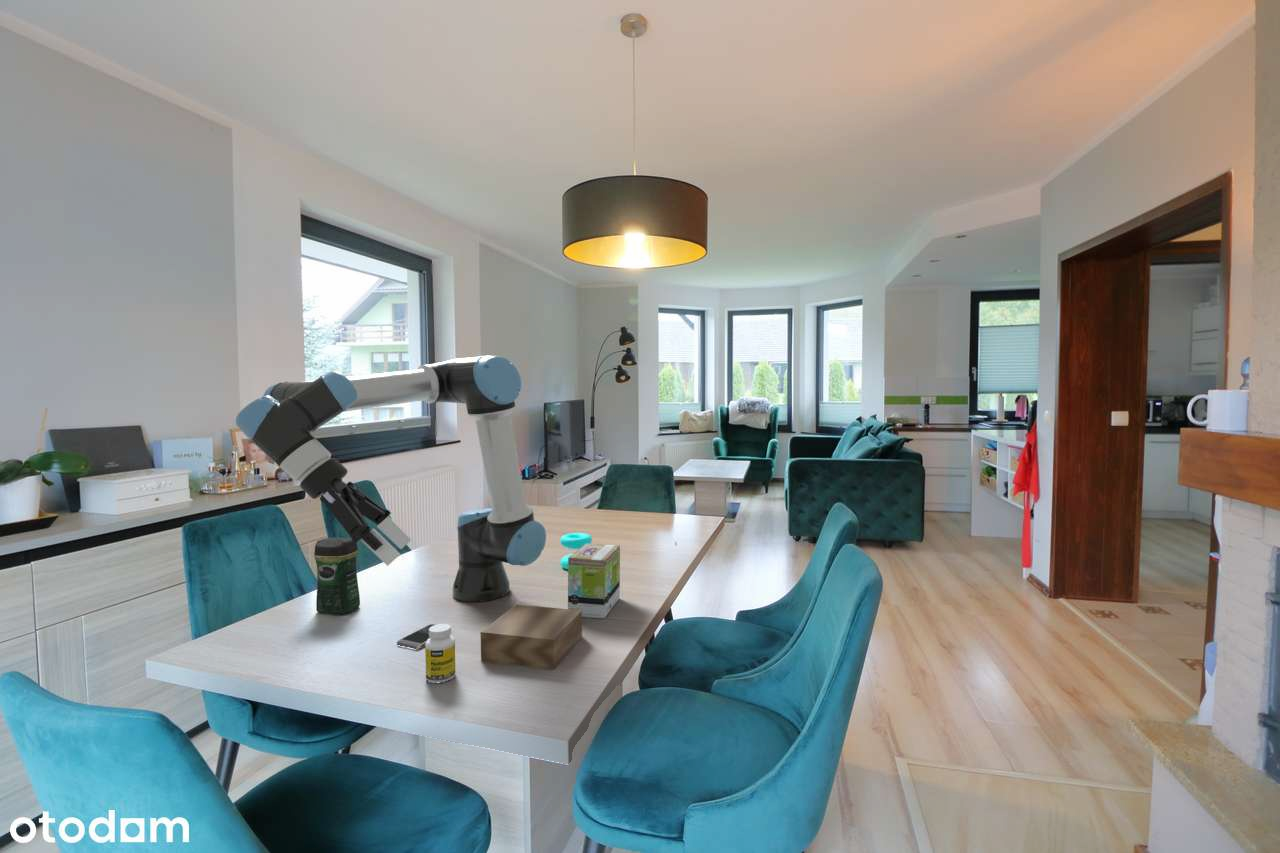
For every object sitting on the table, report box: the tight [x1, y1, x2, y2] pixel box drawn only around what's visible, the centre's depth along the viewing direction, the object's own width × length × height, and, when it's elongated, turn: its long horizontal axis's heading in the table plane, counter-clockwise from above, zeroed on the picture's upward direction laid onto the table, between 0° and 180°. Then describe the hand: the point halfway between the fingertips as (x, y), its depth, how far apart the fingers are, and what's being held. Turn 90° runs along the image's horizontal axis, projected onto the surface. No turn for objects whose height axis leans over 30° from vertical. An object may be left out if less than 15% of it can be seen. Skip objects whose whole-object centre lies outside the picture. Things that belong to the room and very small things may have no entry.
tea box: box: [567, 543, 621, 619], centre depth 146 cm, size 15×10×15 cm
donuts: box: [560, 532, 593, 570], centre depth 181 cm, size 10×10×10 cm
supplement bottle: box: [424, 623, 456, 684], centre depth 109 cm, size 5×5×10 cm
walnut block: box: [480, 603, 583, 670], centre depth 122 cm, size 16×16×6 cm
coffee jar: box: [313, 537, 361, 616], centre depth 145 cm, size 10×8×19 cm
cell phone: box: [396, 624, 435, 650], centre depth 128 cm, size 6×11×1 cm, turn 157°
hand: (400, 551), depth 107 cm, fingers open, 13 cm apart
